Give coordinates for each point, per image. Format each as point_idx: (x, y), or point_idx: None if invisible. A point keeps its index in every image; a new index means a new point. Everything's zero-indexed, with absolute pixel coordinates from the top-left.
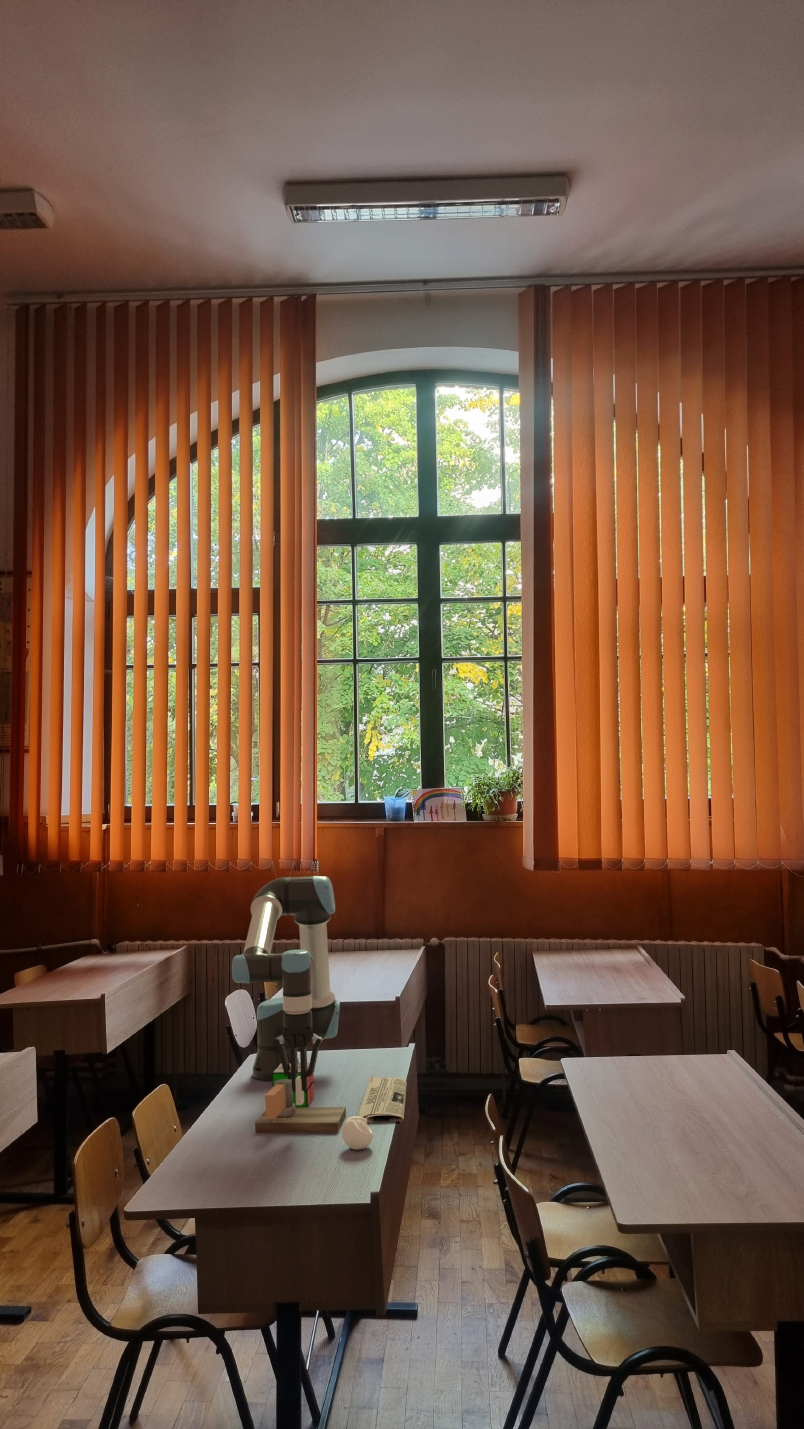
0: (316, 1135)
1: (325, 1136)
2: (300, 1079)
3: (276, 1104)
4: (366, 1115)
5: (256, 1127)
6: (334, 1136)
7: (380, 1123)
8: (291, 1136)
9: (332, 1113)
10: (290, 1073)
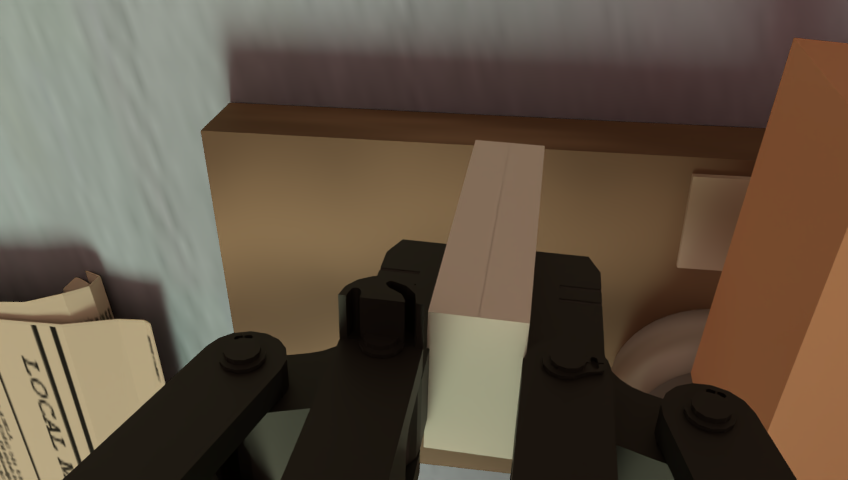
0: (385, 43)
1: (304, 15)
2: (437, 311)
3: (802, 169)
4: (104, 344)
5: None
6: (231, 12)
7: (5, 257)
8: (601, 29)
9: (308, 338)
10: (629, 432)
